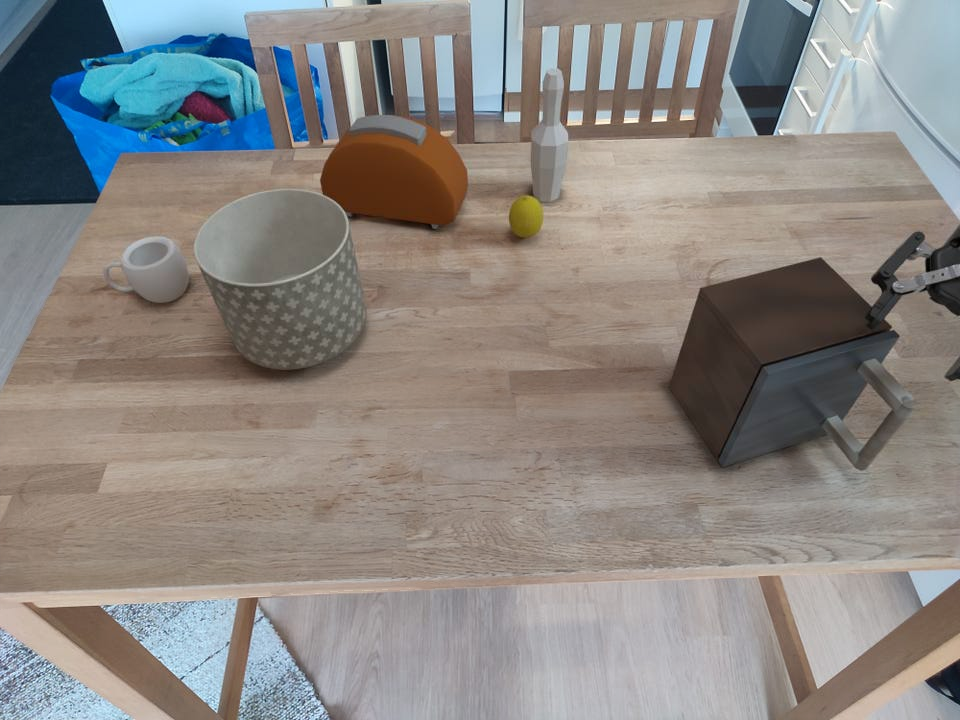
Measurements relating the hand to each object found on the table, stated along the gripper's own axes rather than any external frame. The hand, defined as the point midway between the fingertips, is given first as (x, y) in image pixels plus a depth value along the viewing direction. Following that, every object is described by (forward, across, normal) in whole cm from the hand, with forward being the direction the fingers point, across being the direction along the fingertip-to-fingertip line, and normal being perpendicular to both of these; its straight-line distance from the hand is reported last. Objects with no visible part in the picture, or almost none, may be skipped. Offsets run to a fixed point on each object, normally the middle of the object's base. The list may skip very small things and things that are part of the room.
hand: (910, 351), depth 65 cm
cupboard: (+10, -8, +19) cm, 23 cm away
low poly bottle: (-4, -55, +38) cm, 67 cm away
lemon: (+6, -50, +32) cm, 59 cm away
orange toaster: (+15, -71, +32) cm, 79 cm away
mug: (+50, -85, +16) cm, 100 cm away
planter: (+40, -61, +16) cm, 75 cm away
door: (+13, +1, +15) cm, 20 cm away
